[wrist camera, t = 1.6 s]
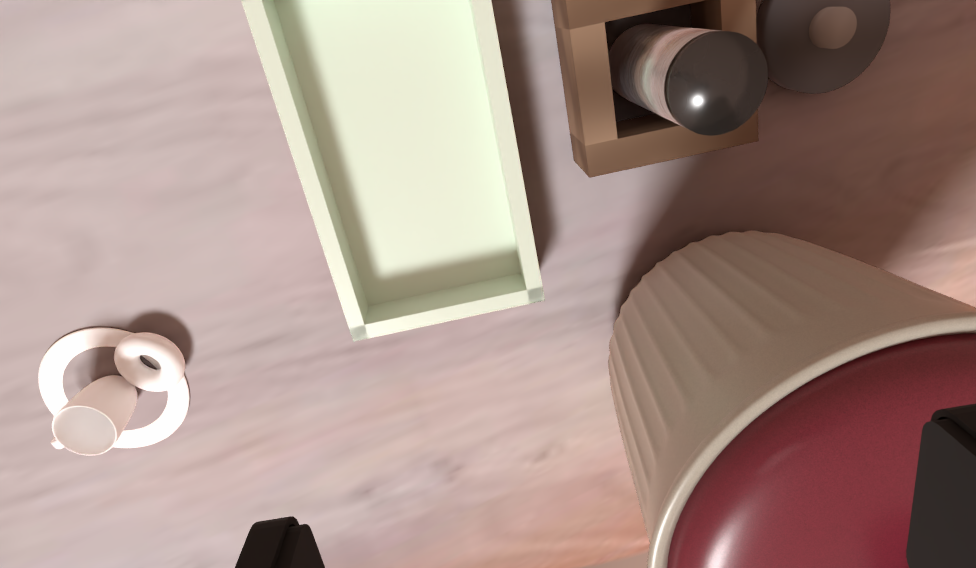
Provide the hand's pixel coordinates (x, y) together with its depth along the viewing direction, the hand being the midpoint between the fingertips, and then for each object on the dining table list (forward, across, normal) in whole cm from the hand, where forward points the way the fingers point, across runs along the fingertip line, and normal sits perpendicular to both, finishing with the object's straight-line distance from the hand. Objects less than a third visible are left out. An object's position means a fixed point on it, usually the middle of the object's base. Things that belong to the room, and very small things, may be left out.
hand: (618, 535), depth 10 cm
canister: (+26, -11, +12) cm, 30 cm away
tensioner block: (+25, -11, -4) cm, 28 cm away
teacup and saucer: (+25, +21, +10) cm, 34 cm away
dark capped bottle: (+25, -8, -4) cm, 26 cm away
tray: (+25, +4, -2) cm, 25 cm away
